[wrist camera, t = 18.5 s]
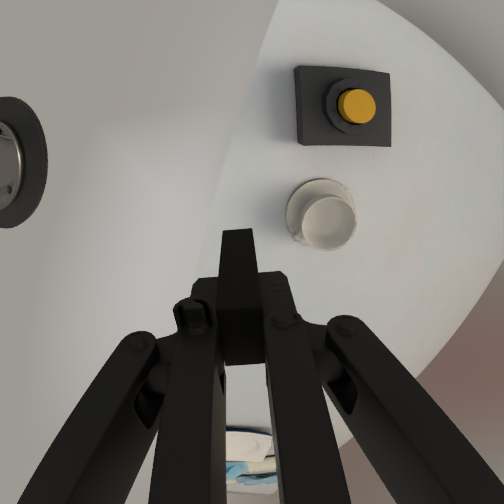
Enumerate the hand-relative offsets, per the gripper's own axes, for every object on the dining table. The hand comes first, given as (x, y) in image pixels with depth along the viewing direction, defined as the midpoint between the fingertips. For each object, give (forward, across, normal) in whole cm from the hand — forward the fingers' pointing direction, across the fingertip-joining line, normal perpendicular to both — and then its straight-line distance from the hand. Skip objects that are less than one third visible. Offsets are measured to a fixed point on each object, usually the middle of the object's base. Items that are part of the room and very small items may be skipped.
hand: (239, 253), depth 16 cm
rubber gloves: (+25, -8, -95) cm, 98 cm away
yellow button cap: (+20, +14, +8) cm, 26 cm away
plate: (+25, -8, -69) cm, 74 cm away
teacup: (+25, +11, -7) cm, 28 cm away
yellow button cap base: (+24, +14, +8) cm, 29 cm away
